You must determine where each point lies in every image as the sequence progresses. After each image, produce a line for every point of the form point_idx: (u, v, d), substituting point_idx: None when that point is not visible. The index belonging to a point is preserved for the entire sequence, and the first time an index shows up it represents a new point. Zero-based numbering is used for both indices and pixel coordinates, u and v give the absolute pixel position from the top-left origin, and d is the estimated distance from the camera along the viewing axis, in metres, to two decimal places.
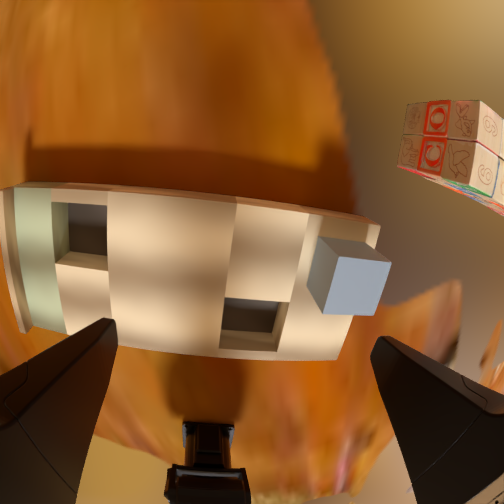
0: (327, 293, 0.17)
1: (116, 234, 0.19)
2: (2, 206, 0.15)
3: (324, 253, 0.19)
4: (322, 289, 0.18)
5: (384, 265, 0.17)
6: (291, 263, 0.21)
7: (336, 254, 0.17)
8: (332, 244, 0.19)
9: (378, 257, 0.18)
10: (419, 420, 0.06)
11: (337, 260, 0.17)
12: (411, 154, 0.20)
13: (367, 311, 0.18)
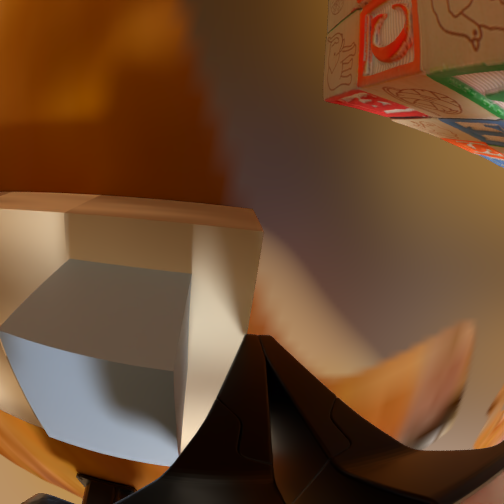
0: (34, 403, 0.05)
1: None
2: None
3: None
4: None
5: (142, 376, 0.04)
6: None
7: (7, 321, 0.04)
8: (58, 284, 0.06)
9: (143, 340, 0.05)
10: (278, 444, 0.06)
11: (1, 338, 0.04)
12: (343, 60, 0.07)
13: (154, 460, 0.06)
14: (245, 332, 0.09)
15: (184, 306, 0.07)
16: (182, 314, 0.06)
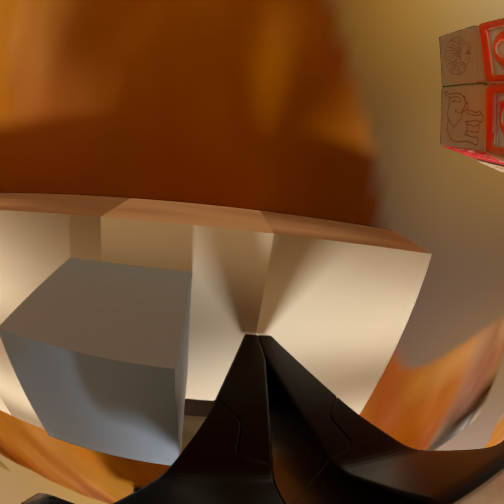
0: (34, 403, 0.05)
1: None
2: None
3: None
4: None
5: (143, 373, 0.04)
6: (238, 341, 0.09)
7: (7, 319, 0.04)
8: (58, 283, 0.06)
9: (144, 339, 0.05)
10: (278, 444, 0.06)
11: (1, 337, 0.04)
12: (468, 121, 0.08)
13: (155, 459, 0.06)
14: (401, 333, 0.10)
15: (185, 304, 0.07)
16: (183, 312, 0.06)
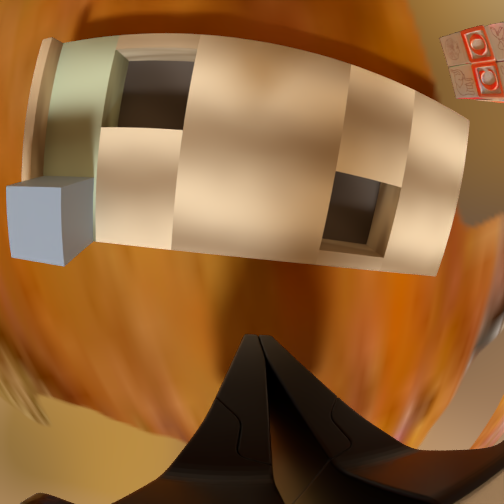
0: (10, 232, 0.11)
1: (204, 81, 0.14)
2: (45, 54, 0.10)
3: None
4: None
5: (52, 192, 0.11)
6: (403, 139, 0.16)
7: (10, 185, 0.11)
8: (34, 179, 0.13)
9: (57, 184, 0.11)
10: (279, 444, 0.06)
11: (6, 190, 0.10)
12: (466, 83, 0.15)
13: (53, 259, 0.12)
14: (464, 160, 0.16)
15: (80, 181, 0.13)
16: (77, 182, 0.13)
